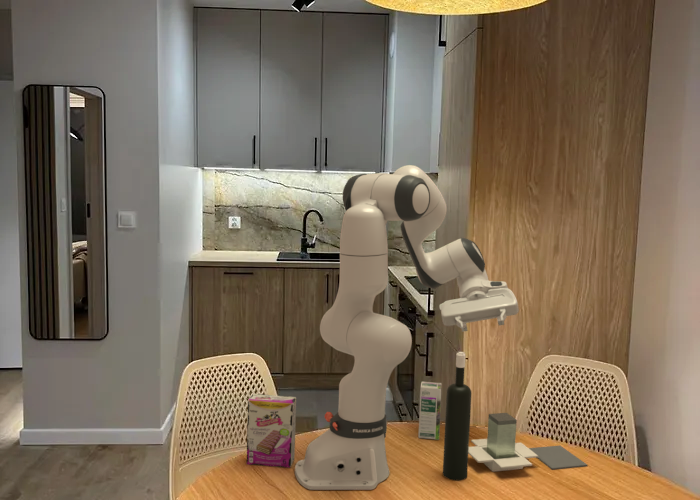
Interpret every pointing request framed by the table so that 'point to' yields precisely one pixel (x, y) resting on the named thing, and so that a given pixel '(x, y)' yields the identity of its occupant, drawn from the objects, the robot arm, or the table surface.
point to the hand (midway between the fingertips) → (482, 326)
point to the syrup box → (430, 410)
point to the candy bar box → (271, 430)
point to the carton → (506, 463)
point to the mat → (557, 457)
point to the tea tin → (501, 436)
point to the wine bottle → (457, 425)
